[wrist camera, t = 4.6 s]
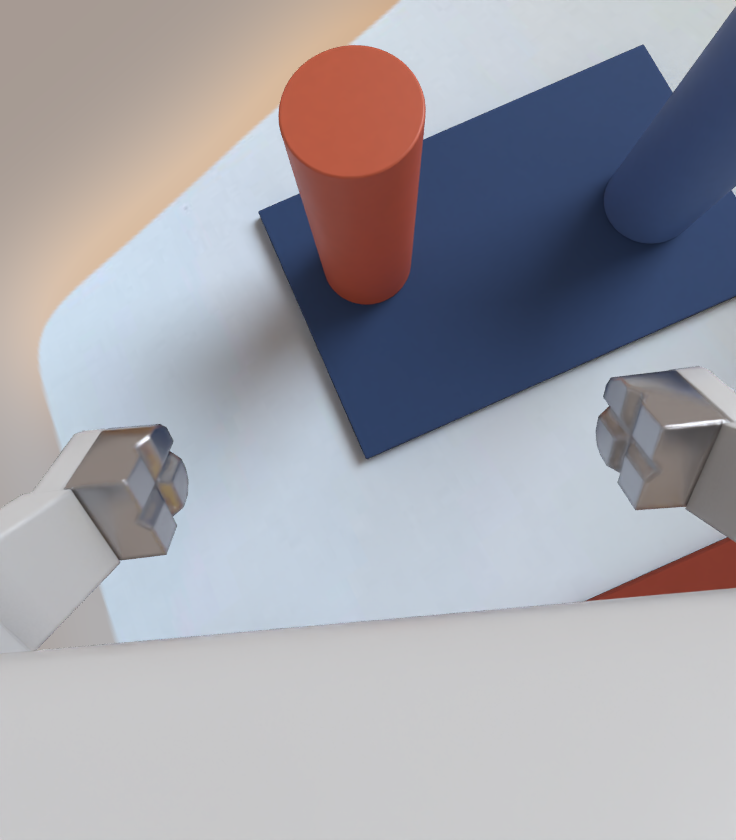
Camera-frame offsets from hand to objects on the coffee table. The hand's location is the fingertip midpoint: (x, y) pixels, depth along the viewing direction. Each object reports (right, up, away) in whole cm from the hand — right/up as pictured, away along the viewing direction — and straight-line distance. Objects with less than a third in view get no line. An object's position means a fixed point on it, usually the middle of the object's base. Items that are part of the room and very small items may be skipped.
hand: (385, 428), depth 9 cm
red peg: (0, +8, +15) cm, 17 cm away
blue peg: (+14, +11, +15) cm, 23 cm away
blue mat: (+7, +9, +15) cm, 19 cm away
